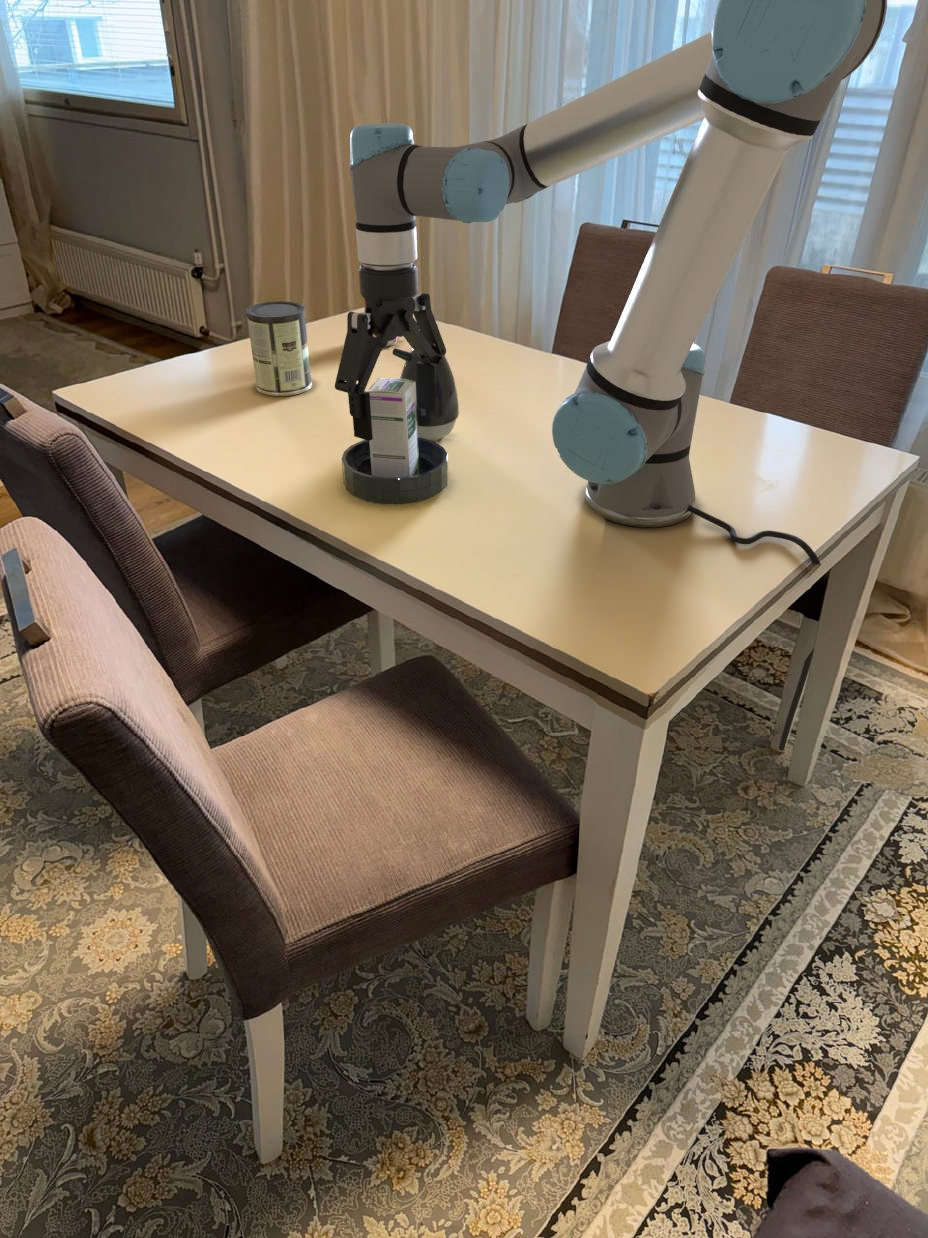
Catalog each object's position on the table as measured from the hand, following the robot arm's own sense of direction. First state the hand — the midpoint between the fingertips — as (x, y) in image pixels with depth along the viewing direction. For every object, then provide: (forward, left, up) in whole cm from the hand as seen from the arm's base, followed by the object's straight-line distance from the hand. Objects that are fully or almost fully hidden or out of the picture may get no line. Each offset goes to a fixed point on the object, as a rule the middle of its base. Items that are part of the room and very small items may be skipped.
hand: (396, 422), depth 123 cm
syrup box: (0, 0, -9) cm, 9 cm away
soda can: (+46, -49, -10) cm, 68 cm away
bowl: (0, 0, -10) cm, 10 cm away
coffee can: (+43, -18, -10) cm, 48 cm away
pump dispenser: (+8, -17, -10) cm, 21 cm away
